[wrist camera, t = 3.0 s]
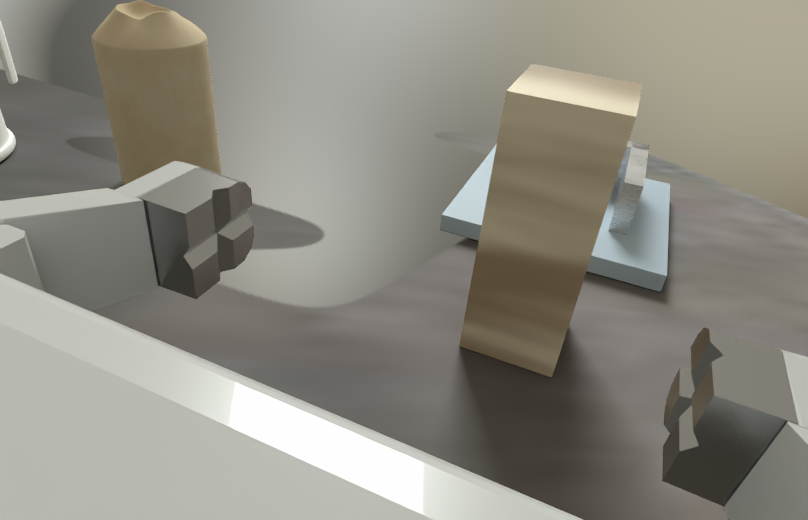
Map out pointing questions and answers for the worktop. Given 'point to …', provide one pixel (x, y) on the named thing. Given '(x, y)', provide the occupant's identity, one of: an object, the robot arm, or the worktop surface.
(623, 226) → the slot bracket
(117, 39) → the candle
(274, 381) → the worktop surface
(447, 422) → the worktop surface
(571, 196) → the beech post
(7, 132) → the white tall bottle shape
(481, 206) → the base plate
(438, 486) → the robot arm
